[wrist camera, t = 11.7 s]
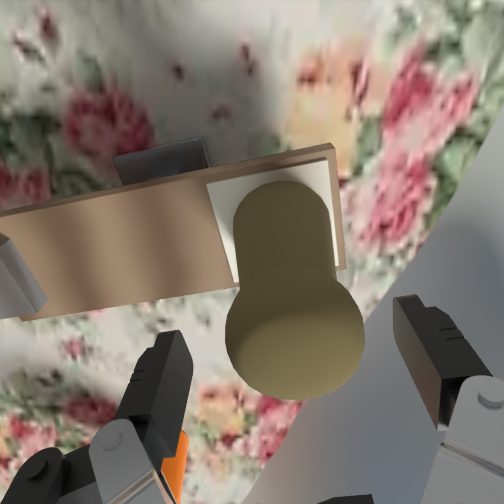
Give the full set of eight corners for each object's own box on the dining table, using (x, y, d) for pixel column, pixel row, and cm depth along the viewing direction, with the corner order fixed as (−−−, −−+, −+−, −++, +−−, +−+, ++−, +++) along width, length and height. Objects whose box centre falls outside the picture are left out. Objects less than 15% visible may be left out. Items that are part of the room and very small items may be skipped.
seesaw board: (34, 308, 27) (9, 335, 24) (-27, 217, 23) (-64, 237, 21) (341, 257, 24) (351, 282, 21) (330, 142, 20) (340, 155, 18)
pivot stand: (117, 154, 27) (84, 176, 22) (202, 135, 26) (188, 153, 21) (160, 262, 32) (141, 299, 27) (233, 249, 31) (228, 285, 26)
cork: (242, 170, 19) (224, 280, 10) (345, 192, 20) (422, 317, 10) (224, 259, 22) (196, 411, 13) (313, 277, 23) (351, 436, 13)
